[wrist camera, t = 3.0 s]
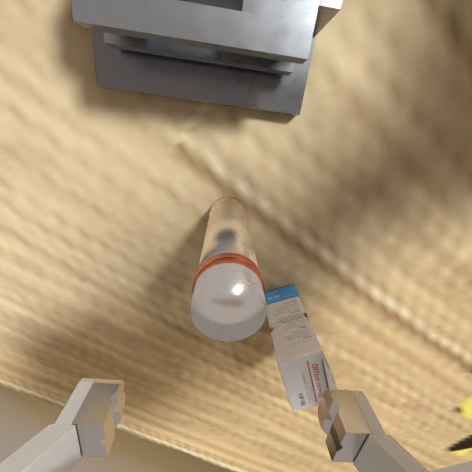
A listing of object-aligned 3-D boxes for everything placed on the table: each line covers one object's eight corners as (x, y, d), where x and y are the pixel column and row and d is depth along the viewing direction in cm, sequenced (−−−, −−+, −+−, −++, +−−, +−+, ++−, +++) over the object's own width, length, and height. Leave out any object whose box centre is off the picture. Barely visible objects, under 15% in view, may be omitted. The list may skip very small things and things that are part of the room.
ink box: (261, 291, 36) (281, 390, 22) (294, 282, 35) (336, 378, 22) (273, 334, 39) (298, 443, 26) (304, 326, 39) (346, 433, 25)
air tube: (249, 198, 30) (275, 282, 14) (244, 233, 32) (261, 345, 16) (210, 194, 30) (190, 274, 13) (207, 229, 32) (186, 340, 15)
